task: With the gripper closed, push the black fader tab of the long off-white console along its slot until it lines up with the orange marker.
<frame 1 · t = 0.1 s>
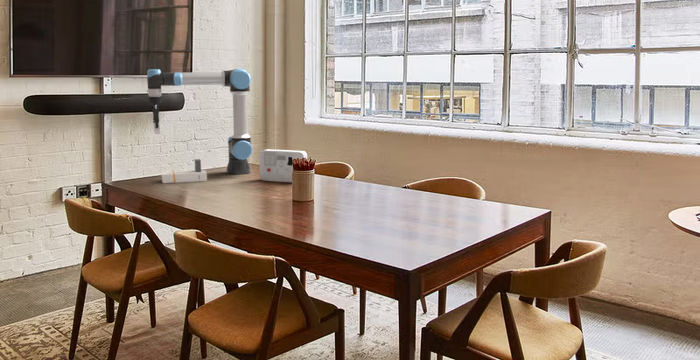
hand: (156, 132, 388), 28 cm above the table, fingers open, 13 cm apart
console: (184, 180, 391), on the table
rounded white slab: (283, 181, 390), on the table
fader: (197, 169, 392), point 7 cm above the table, slide at -8.0 cm
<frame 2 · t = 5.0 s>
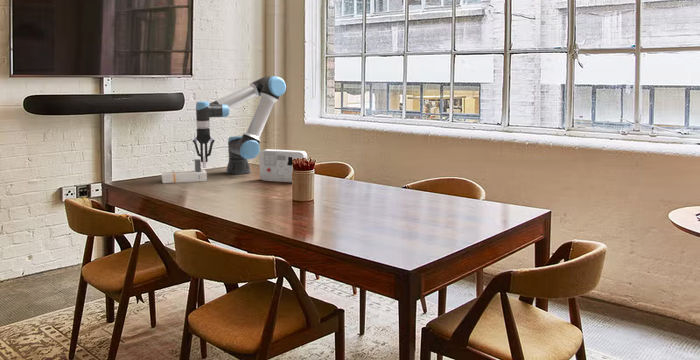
hand: (204, 167, 393), 7 cm above the table, fingers closed
fader: (197, 169, 392), point 7 cm above the table, slide at -7.9 cm, touching gripper
everything else where it was.
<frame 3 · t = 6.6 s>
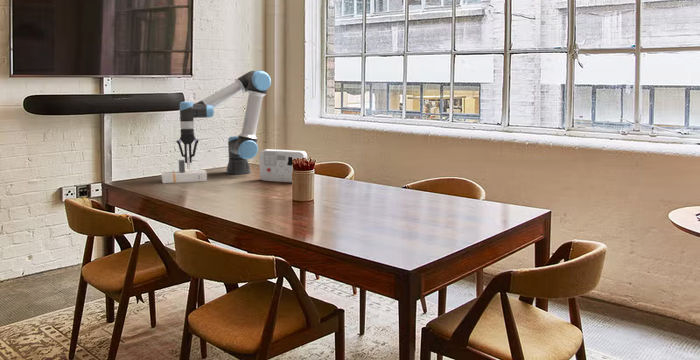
hand: (188, 168, 391), 7 cm above the table, fingers closed
fader: (181, 169, 390), point 7 cm above the table, slide at 1.2 cm, touching gripper
everything else where it was.
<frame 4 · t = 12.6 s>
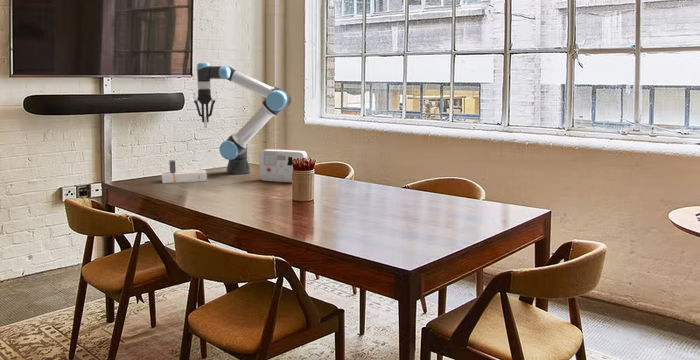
hand: (205, 127, 405), 29 cm above the table, fingers closed
fader: (172, 170, 388), point 7 cm above the table, slide at 6.5 cm
everything else where it was.
at the end: fader slide at 6.5 cm; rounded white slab moved 0.3 cm from its start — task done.
